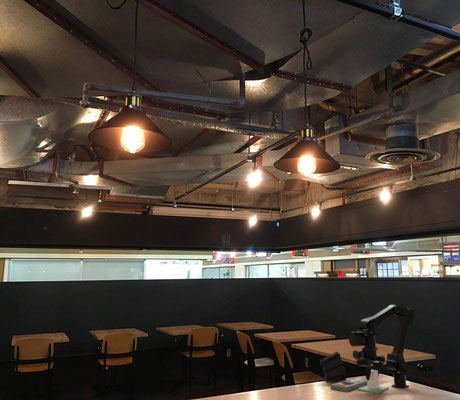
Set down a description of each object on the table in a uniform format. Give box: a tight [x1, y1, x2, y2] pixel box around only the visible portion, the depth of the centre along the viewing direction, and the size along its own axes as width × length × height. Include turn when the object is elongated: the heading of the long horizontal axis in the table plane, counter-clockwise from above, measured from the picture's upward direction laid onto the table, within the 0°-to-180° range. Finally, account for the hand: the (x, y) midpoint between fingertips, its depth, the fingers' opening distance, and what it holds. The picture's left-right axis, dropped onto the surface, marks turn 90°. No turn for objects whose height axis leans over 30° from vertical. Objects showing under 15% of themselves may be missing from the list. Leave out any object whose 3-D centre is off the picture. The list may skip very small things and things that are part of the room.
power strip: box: [330, 377, 367, 393], centre depth 218 cm, size 28×9×3 cm, turn 135°
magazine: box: [319, 351, 348, 383], centre depth 230 cm, size 4×13×15 cm, turn 88°
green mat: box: [357, 385, 389, 394], centre depth 208 cm, size 12×10×1 cm
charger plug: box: [366, 369, 380, 389], centre depth 209 cm, size 4×4×8 cm
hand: (372, 378), depth 209 cm, fingers open, 9 cm apart
